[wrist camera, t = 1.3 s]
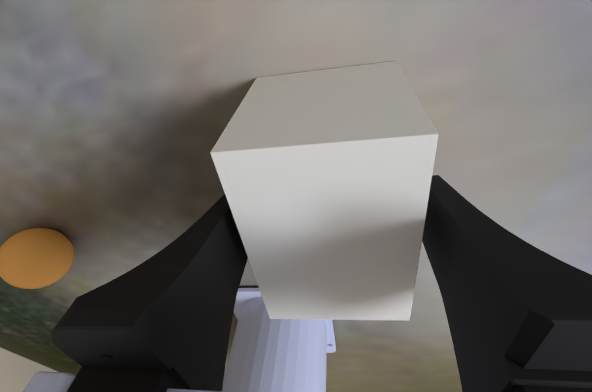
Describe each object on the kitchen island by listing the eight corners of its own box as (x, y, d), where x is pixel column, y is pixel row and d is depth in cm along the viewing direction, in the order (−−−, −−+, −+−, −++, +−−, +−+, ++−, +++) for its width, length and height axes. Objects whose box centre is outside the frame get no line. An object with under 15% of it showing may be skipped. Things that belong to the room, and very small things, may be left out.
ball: (97, 254, 23) (60, 301, 20) (52, 255, 24) (9, 301, 20) (65, 214, 20) (17, 261, 17) (15, 217, 21) (-39, 262, 18)
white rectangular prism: (387, 214, 18) (409, 320, 13) (287, 219, 19) (270, 318, 14) (395, 60, 13) (438, 134, 8) (256, 77, 14) (210, 152, 8)
